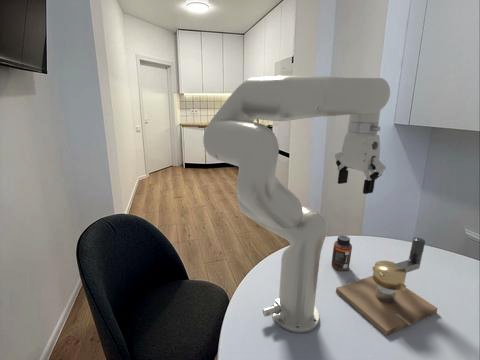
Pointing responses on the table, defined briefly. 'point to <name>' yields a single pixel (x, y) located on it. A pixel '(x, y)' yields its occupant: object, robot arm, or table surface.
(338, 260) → the supplement bottle
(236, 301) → the table surface
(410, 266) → the brass hub lever
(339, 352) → the table surface
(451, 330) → the table surface
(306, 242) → the robot arm
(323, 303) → the table surface
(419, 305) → the walnut base
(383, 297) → the steel post
